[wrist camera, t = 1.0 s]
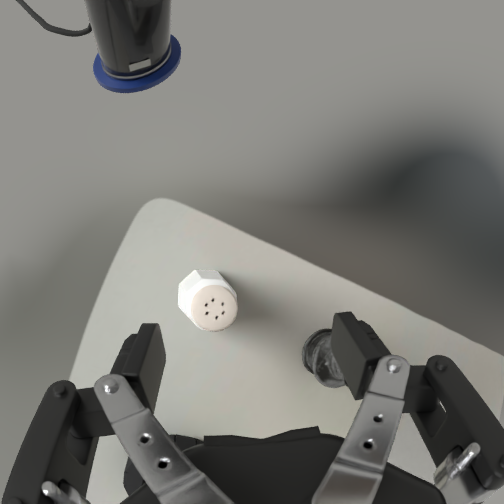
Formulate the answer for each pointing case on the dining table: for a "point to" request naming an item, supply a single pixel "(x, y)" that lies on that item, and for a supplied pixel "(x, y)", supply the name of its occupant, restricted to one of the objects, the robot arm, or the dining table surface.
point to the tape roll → (135, 479)
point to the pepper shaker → (208, 300)
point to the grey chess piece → (322, 359)
